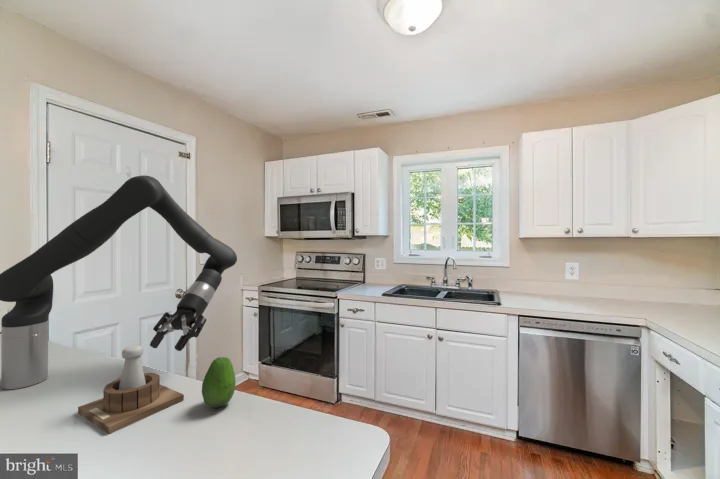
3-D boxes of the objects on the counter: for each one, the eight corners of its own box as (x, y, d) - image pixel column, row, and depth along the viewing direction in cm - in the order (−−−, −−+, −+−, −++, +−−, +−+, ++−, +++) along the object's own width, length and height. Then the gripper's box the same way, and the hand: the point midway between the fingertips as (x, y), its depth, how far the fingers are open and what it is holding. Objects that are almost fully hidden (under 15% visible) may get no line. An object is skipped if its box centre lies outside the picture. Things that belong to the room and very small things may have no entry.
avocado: (241, 404, 77) (241, 357, 77) (208, 418, 71) (208, 366, 71) (227, 394, 83) (227, 349, 83) (196, 405, 77) (196, 357, 77)
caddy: (78, 413, 73) (78, 388, 73) (150, 385, 87) (150, 364, 87) (109, 434, 65) (109, 405, 65) (183, 400, 79) (183, 377, 79)
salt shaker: (131, 406, 74) (131, 351, 74) (111, 403, 75) (111, 350, 75) (152, 394, 80) (152, 343, 80) (133, 392, 81) (133, 342, 81)
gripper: (171, 291, 95) (135, 339, 84) (209, 293, 92) (177, 344, 81) (185, 304, 101) (153, 352, 89) (221, 307, 97) (193, 356, 86)
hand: (164, 348), depth 85 cm, fingers open, 8 cm apart
